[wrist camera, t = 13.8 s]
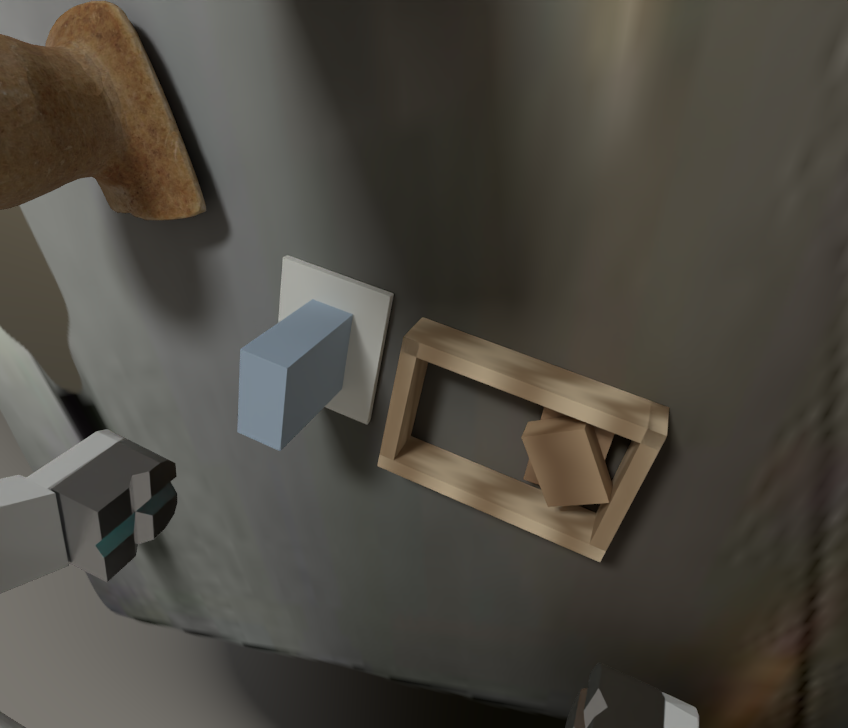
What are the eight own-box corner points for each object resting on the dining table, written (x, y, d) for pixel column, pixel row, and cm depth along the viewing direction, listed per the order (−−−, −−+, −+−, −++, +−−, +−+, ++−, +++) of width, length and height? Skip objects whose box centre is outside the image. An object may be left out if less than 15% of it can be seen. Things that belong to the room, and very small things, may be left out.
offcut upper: (588, 413, 41) (584, 429, 40) (612, 484, 43) (609, 502, 42) (528, 421, 43) (521, 437, 42) (553, 489, 45) (547, 507, 44)
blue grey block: (353, 314, 46) (287, 368, 38) (342, 388, 49) (280, 451, 42) (312, 299, 46) (240, 349, 39) (304, 373, 50) (237, 432, 43)
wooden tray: (669, 407, 40) (667, 436, 38) (606, 530, 47) (600, 562, 44) (422, 316, 44) (403, 336, 41) (395, 441, 51) (377, 465, 48)
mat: (393, 293, 44) (390, 296, 44) (370, 421, 51) (367, 424, 50) (287, 255, 46) (282, 257, 46) (277, 382, 53) (273, 385, 52)
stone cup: (31, 38, 46) (-210, 40, 34) (139, -17, 41) (-99, -38, 29) (120, 232, 52) (-59, 295, 39) (225, 206, 46) (56, 268, 34)
